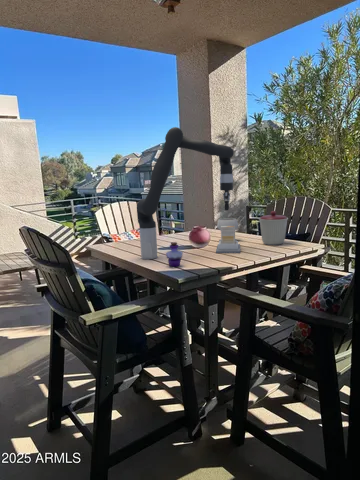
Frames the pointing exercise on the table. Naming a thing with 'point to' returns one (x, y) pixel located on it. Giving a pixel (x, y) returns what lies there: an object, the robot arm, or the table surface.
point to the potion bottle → (174, 255)
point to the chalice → (227, 223)
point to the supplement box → (227, 234)
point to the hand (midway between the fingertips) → (226, 209)
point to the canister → (273, 228)
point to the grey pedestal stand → (228, 248)
